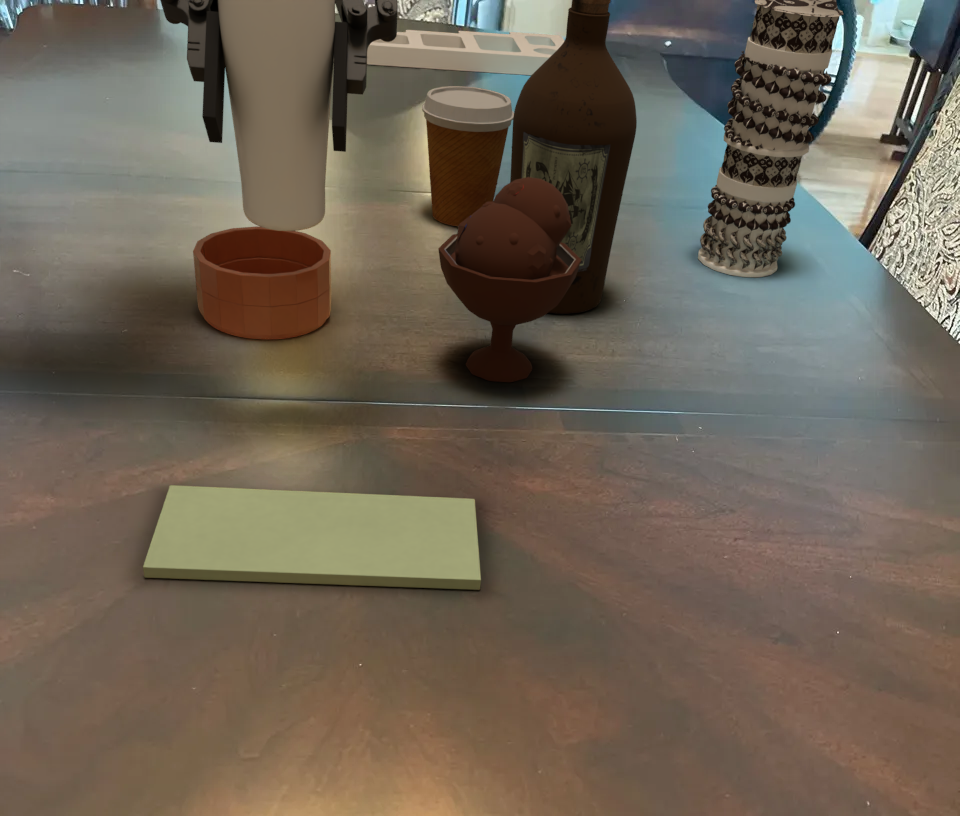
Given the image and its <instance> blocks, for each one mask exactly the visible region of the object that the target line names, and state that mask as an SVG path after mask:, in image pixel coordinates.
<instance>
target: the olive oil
mask: <svg viewBox="0 0 960 816" xmlns="http://www.w3.org/2000/svg"><path fill="white" fill-rule="evenodd" d="M611 2H612V1H611V0H571V5H570V7H569V8H568V10H567V11H568V12H567V20H566V32H565V39H564V40H565V41H564V43H563V44H562V45H561V46H560V48H559V49H558V50H557V51H556V52H555V53H554V54H553V55H552V56H551V57H550V58H549V59H548V60H546V61H545V62H544V63H543V64H542V65H541V66H540V67H539V68H538V69H537V70H536V71H535V72H534V73H533V74H532V75H530V76H529V77H528V79H527V80H526V81H525V83H524V85H523V87H522V88H521V90H520V93H519V96H518V97H517V101H516V104H515V107H514V110H513V112H514V116H513V120H512V131H511V132H512V133H511V155H510V157H511V158H510V179H509V181H510V182H509V183H511V182H512V181H514V180H516V179H521V178H526V177H532V178H539V179H542V180H544V181H546V182H548V183H550V184H552V185H553V186H555V187H556V188H557V189H558V190H559V191H560V192H561V193H562V195H563V197H564V199H565V201H566V203H567V204H568V209H569V214H570V220H571V225H572V226H571V227H570V229H569V231H568V232H567V234H566V235H565V237H564V238H563V240H562V241H561V242H562V243H565V244H566V245H567V246H568V247H569V248H570V249H571V250H572V251H573V252H574V253H575V254H576V255H577V256H578V257H579V258H580V259H581V263H580V266H579V269H578V271H577V274H576V277H575V279H574V281H573V282H572V284H571V286H570V287H569V289H568V290H567V292H566V294H565V295H564V296H563V298H562V299H561V301H560V302H559V304H558V305H557V306H556V307H555V308H553V309H552V310H551V311H550V312H548V313H547V314H558V315H559V314H560V315H561V314H562V315H569V314H570V315H571V314H579V313H584V312H588V311H591V310H592V309H595V308H596V307H597V306H598V305H600V303H601V301H602V297H603V293H604V288H605V282H606V277H607V272H608V267H609V261H610V256H611V251H612V247H613V241H614V236H615V231H616V227H617V222H618V217H619V212H620V209H621V208H620V207H621V202H622V198H623V193H624V189H625V184H626V179H627V175H628V171H629V166H630V161H631V157H632V153H633V148H634V144H635V139H636V133H637V126H638V125H637V119H638V117H637V109H636V101H635V97H634V94H633V92H632V90H631V87H630V85H629V83H628V82H627V80H626V79H625V77H624V76H623V74H622V72H621V71H620V69H619V67H618V66H617V64H616V62H615V61H614V59H613V57H612V56H611V54H610V53H609V50H608V48H607V43H606V42H607V35H608V30H609V24H610V17H611V13H610V12H609V7H610V4H611Z"/></svg>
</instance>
